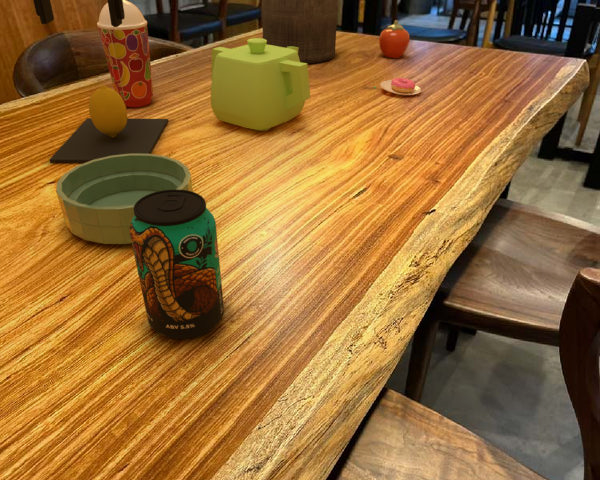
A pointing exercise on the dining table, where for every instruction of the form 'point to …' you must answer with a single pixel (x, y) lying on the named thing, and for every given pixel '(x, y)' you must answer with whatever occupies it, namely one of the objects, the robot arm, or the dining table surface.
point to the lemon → (107, 111)
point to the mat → (110, 141)
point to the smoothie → (128, 55)
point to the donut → (400, 86)
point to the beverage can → (177, 263)
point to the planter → (302, 27)
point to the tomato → (394, 41)
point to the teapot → (258, 84)
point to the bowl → (115, 193)
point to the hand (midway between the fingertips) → (82, 23)
